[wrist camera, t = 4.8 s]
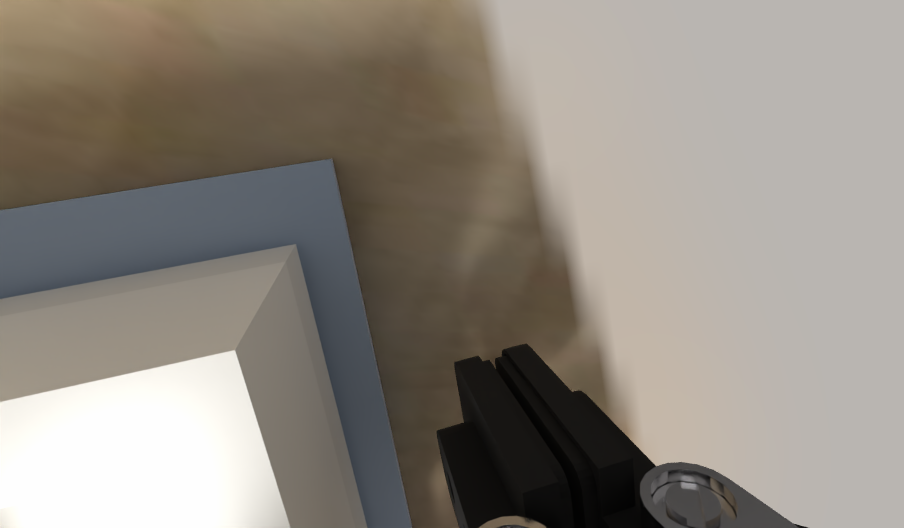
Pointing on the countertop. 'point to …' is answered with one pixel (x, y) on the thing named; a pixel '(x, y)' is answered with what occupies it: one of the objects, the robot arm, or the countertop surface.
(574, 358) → the countertop surface
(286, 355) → the socket block
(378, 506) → the track
